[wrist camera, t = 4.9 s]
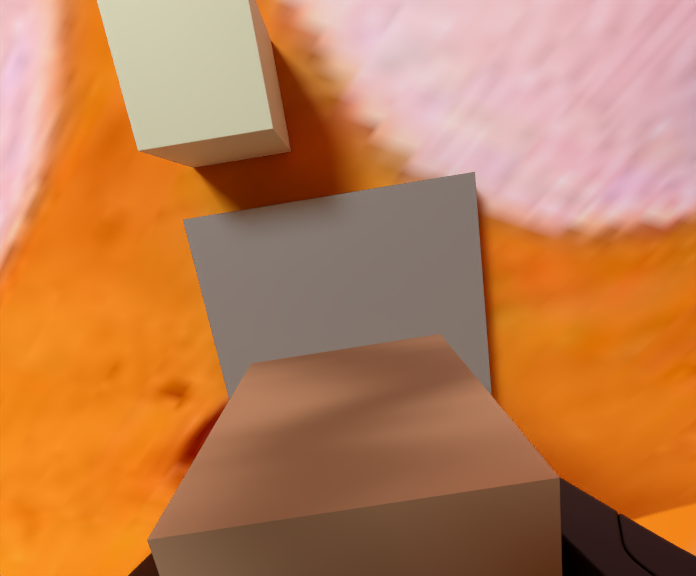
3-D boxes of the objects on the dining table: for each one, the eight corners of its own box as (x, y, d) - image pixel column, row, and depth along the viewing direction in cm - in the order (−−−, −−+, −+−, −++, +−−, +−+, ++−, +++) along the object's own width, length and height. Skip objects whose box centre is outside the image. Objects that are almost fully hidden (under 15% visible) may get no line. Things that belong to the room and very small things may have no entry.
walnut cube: (440, 333, 9) (559, 477, 4) (456, 494, 10) (567, 760, 5) (251, 363, 9) (147, 540, 4) (287, 520, 10) (239, 806, 5)
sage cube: (271, 41, 16) (242, -32, 11) (291, 151, 17) (273, 128, 13) (167, 58, 16) (95, -7, 12) (194, 167, 17) (137, 150, 13)
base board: (463, 175, 18) (474, 172, 16) (483, 416, 21) (494, 432, 19) (195, 219, 18) (183, 219, 16) (254, 452, 21) (247, 470, 19)
